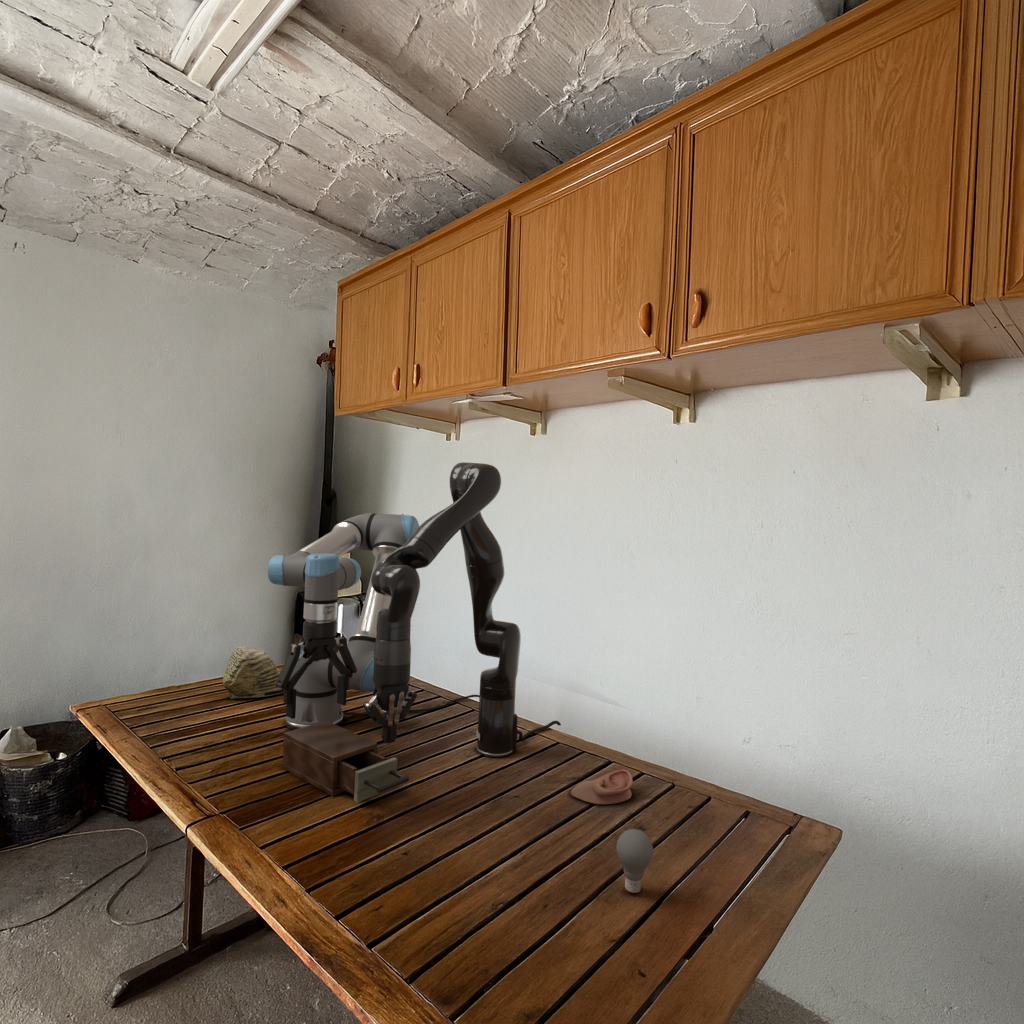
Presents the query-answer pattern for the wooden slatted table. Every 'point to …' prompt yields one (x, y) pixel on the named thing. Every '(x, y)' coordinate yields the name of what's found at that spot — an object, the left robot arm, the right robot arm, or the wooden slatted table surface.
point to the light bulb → (634, 857)
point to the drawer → (368, 775)
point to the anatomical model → (605, 788)
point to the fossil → (251, 674)
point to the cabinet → (321, 753)
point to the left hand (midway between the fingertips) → (316, 710)
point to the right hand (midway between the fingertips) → (389, 741)
